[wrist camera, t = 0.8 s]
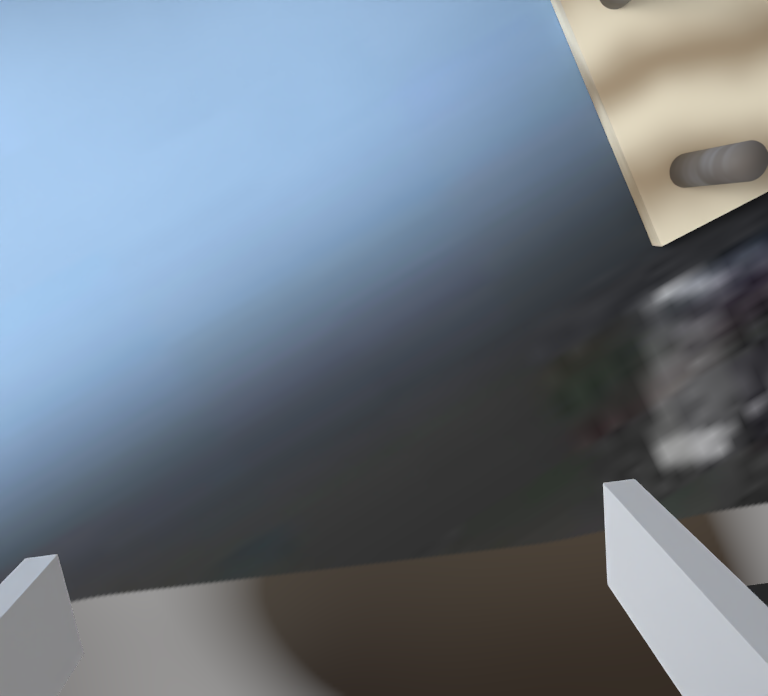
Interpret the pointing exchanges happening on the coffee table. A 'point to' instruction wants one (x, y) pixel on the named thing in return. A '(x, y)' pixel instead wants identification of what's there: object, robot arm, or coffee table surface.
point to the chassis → (678, 101)
